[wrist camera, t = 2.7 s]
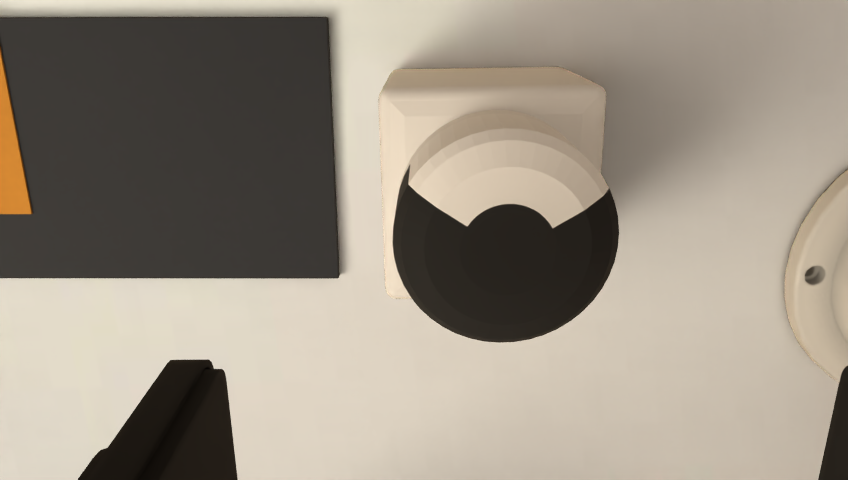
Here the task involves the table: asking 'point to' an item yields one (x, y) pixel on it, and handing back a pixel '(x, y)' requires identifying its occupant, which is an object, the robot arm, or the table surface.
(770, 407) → the table surface
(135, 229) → the desk mat
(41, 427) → the table surface
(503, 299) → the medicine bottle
